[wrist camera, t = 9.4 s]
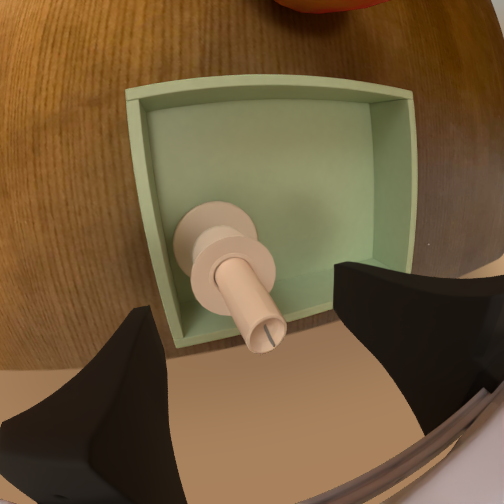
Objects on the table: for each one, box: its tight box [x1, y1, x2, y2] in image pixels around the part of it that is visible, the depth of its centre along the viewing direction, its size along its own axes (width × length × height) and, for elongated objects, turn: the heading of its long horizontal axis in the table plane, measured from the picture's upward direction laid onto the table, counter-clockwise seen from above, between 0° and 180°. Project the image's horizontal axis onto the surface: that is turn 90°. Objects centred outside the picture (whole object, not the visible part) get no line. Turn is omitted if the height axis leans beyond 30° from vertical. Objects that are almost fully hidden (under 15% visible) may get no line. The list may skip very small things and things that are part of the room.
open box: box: [125, 74, 417, 348], centre depth 16 cm, size 13×16×4 cm
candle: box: [173, 201, 287, 354], centre depth 13 cm, size 5×5×10 cm
